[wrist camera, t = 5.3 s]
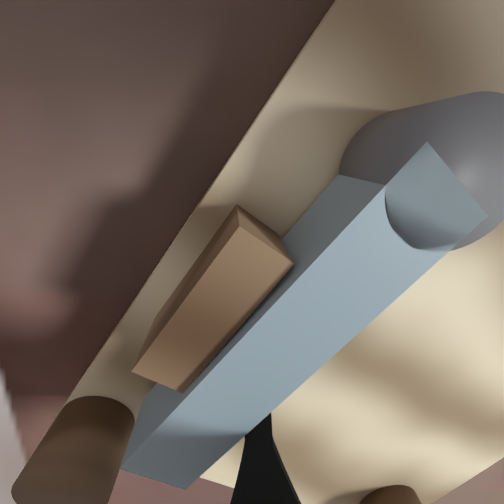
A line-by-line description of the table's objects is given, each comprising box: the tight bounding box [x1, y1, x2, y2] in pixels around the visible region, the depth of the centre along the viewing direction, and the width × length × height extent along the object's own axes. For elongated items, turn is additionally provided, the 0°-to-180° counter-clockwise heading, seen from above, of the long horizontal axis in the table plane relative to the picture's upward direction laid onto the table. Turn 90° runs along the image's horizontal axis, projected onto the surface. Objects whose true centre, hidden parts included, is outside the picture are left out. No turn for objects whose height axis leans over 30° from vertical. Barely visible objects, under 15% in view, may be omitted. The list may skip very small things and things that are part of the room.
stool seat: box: [11, 0, 504, 504], centre depth 11 cm, size 22×22×5 cm
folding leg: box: [119, 91, 504, 490], centre depth 8 cm, size 14×3×2 cm, turn 141°
